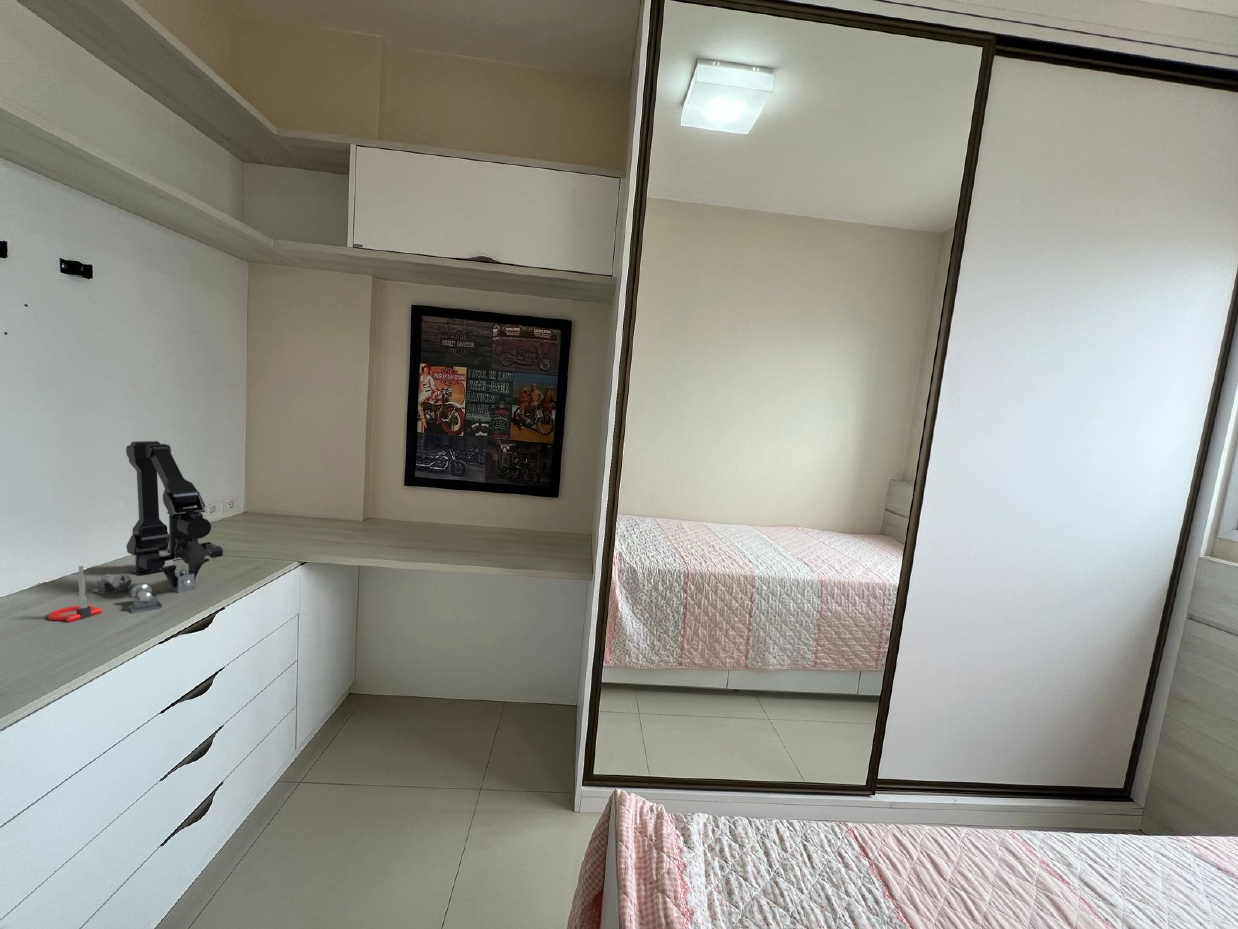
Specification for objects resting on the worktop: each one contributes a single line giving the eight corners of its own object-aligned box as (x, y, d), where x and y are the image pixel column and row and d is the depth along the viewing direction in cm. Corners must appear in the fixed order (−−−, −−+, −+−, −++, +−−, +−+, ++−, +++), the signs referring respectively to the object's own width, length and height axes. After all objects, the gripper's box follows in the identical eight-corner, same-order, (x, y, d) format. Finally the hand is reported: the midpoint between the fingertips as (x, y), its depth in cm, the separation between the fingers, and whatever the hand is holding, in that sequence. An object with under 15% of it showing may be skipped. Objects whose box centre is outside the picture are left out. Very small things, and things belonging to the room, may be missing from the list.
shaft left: (92, 592, 156) (91, 574, 155) (116, 585, 161) (116, 568, 161) (110, 596, 154) (110, 578, 153) (135, 590, 159) (134, 572, 159)
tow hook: (39, 619, 138) (65, 624, 136) (35, 567, 137) (62, 571, 135) (80, 608, 146) (105, 612, 144) (77, 558, 145) (103, 562, 143)
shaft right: (162, 607, 149) (161, 588, 149) (132, 613, 145) (131, 593, 144) (155, 599, 154) (155, 581, 153) (126, 604, 149) (126, 585, 149)
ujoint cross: (169, 588, 162) (168, 568, 162) (185, 584, 166) (184, 565, 165) (180, 593, 159) (180, 573, 159) (196, 589, 163) (196, 570, 162)
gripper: (156, 543, 149) (157, 601, 151) (233, 531, 165) (233, 583, 167) (136, 535, 154) (137, 591, 156) (213, 524, 170) (213, 575, 172)
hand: (182, 585), depth 162 cm, fingers closed on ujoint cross, 4 cm apart
